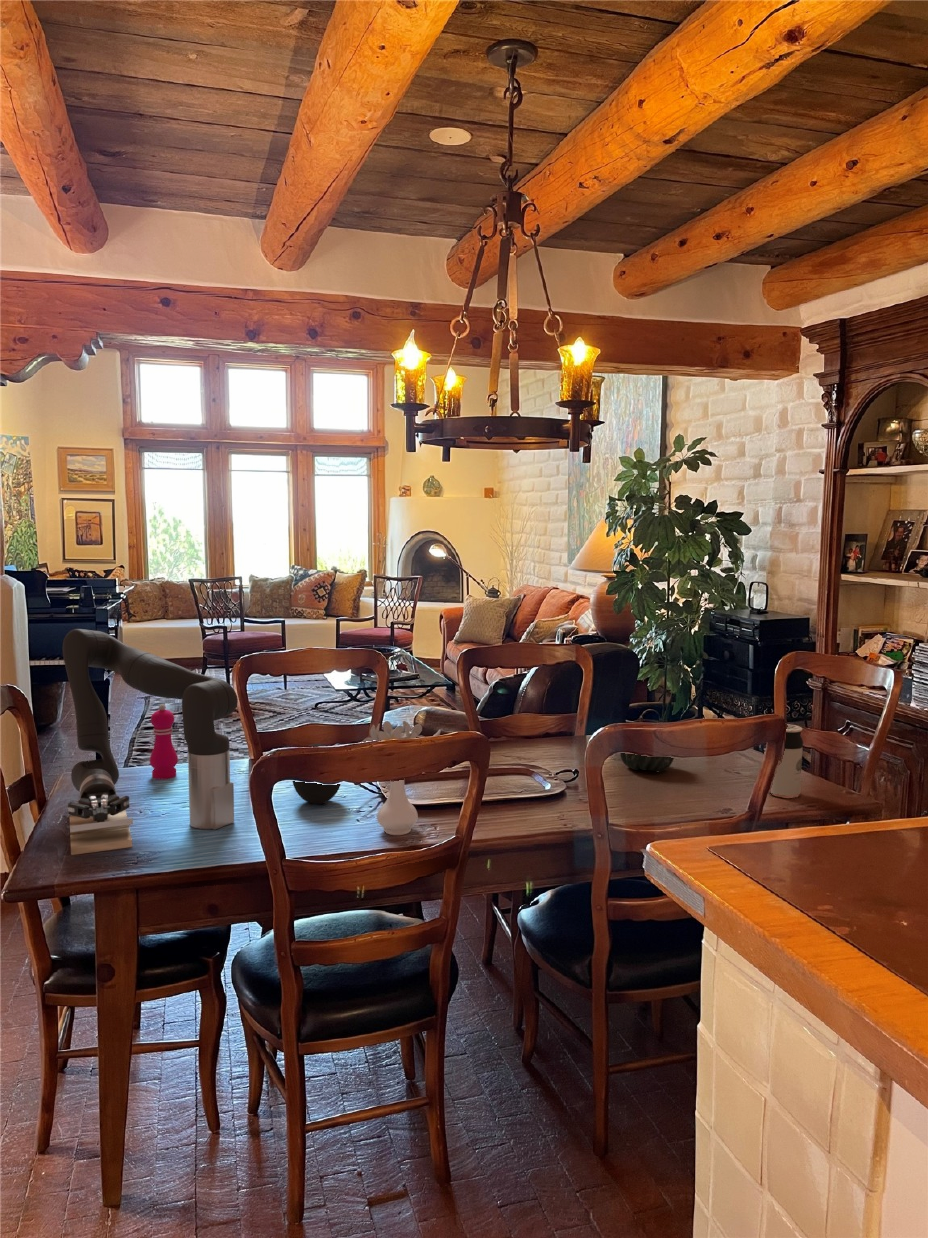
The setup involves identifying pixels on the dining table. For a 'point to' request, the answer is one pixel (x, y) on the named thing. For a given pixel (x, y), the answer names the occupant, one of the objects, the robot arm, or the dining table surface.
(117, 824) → the white flat rectangular panel
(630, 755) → the squash
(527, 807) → the dining table surface
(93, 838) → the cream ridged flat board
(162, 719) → the pepper mill
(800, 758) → the travel mug
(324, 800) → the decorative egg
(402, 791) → the flower vase
